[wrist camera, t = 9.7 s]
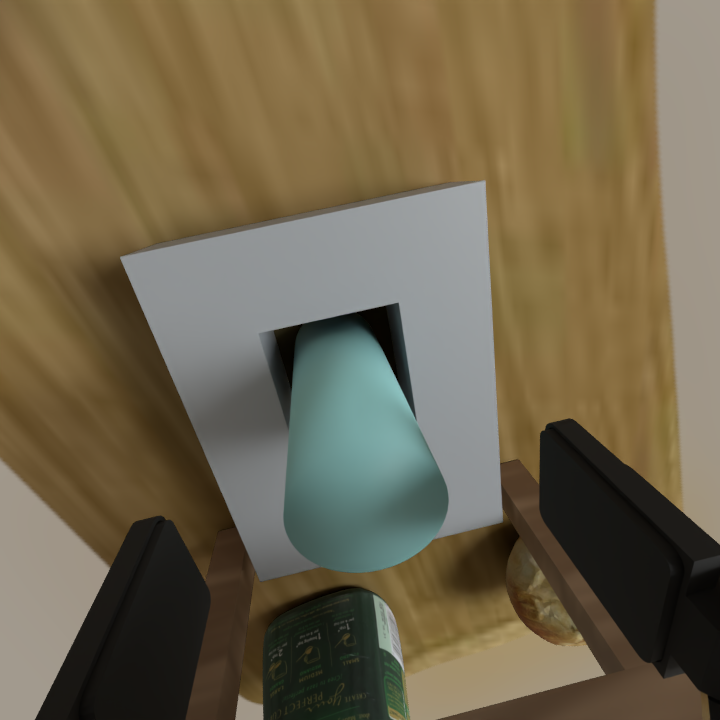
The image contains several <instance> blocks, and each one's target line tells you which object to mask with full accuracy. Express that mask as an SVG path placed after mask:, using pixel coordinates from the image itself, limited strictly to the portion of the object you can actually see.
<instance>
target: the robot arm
mask: <svg viewBox="0 0 720 720" xmlns="http://www.w3.org/2000/svg"><path fill="white" fill-rule="evenodd" d="M539 510H540V514H541V517H542V519H543V521H544V523H545V524H546V526H547V527H548V529H549V530H550V531H551V533H552V534H553V536H554V537H555V538H556V540H557V541H558V543H559V544H560V545H561V547H562V548H563V550H564V551H565V553H566V554H567V555H568V557H569V558H570V560H571V561H572V562H573V564H574V565H575V567H576V568H577V570H578V571H579V572H580V574H581V575H582V577H583V578H584V579H585V581H586V582H587V584H588V585H589V587H590V588H591V589H592V591H593V592H594V594H595V595H596V596H597V598H598V599H599V601H600V602H601V603H602V605H603V606H604V608H605V609H606V611H607V612H608V613H609V615H610V616H611V618H612V619H613V620H614V622H615V623H616V625H617V626H618V628H619V629H620V630H621V632H622V633H623V635H624V636H625V637H626V639H627V640H628V642H629V643H630V645H631V646H632V647H633V649H634V650H635V652H636V653H637V654H638V656H639V657H640V658H641V659H642V660H643V661H644V662H646V663H652V664H653V665H654V666H655V668H656V669H657V671H658V672H659V673H660V675H661V676H662V677H663V679H665V678H669V677H673V676H676V675H680V674H684V673H685V674H686V675H687V676H688V678H689V679H690V680H691V681H692V683H693V684H694V685H695V687H696V688H697V689H698V690H699V691H700V693H701V705H702V717H703V720H720V545H719V544H718V543H717V542H716V541H715V540H714V539H713V538H711V537H710V536H709V535H708V534H706V532H704V531H703V530H702V529H701V528H700V527H698V526H697V525H696V524H695V523H694V522H693V521H692V520H691V519H690V518H688V517H687V516H686V515H685V514H684V513H683V512H682V511H680V510H679V509H678V508H677V507H676V506H675V505H674V504H672V503H671V502H670V501H669V500H668V499H667V498H666V497H664V496H663V495H662V494H661V493H660V492H659V491H657V490H656V489H655V488H654V487H653V486H652V485H651V484H649V483H648V482H647V481H646V480H645V479H644V478H643V477H641V476H640V475H639V474H638V473H637V472H636V471H635V470H633V469H632V468H631V467H629V466H628V465H626V464H624V463H623V462H621V461H620V460H619V459H618V458H617V457H616V456H615V455H614V454H612V453H611V452H610V451H609V450H608V449H607V448H606V447H604V446H603V445H602V444H601V443H600V442H599V441H598V440H596V439H595V438H594V437H593V436H592V435H591V434H590V433H589V432H587V431H586V430H585V429H584V428H583V427H582V426H581V425H579V424H578V423H577V422H576V421H575V420H573V419H570V418H569V419H565V420H561V421H557V422H552V423H549V424H547V425H546V428H545V430H544V431H541V433H540V483H539ZM210 604H211V595H210V591H209V588H208V586H207V585H206V583H205V581H204V579H203V577H202V575H201V573H200V572H199V570H198V568H197V566H196V564H195V562H194V560H193V559H192V557H191V555H190V553H189V551H188V549H187V547H186V546H185V544H184V542H183V540H182V538H181V536H180V534H179V533H178V531H177V529H176V527H175V525H174V523H173V522H172V521H171V520H166V519H165V518H164V517H162V516H156V517H152V518H148V519H144V520H139V521H136V522H135V523H133V525H132V526H131V528H130V530H129V532H128V534H127V536H126V538H125V540H124V542H123V544H122V546H121V548H120V550H119V552H118V554H117V556H116V558H115V560H114V562H113V564H112V566H111V568H110V570H109V572H108V574H107V576H106V578H105V580H104V582H103V584H102V586H101V588H100V590H99V592H98V594H97V596H96V598H95V600H94V602H93V604H92V606H91V608H90V610H89V612H88V614H87V616H86V618H85V620H84V622H83V624H82V626H81V628H80V630H79V632H78V634H77V636H76V639H75V640H74V643H73V645H72V646H71V649H70V650H69V653H68V654H67V657H66V659H65V661H64V663H63V665H62V667H61V669H60V671H59V673H58V675H57V677H56V679H55V681H54V683H53V685H52V687H51V689H50V691H49V693H48V695H47V697H46V699H45V701H44V703H43V705H42V707H41V709H40V711H39V713H38V715H37V717H36V719H35V720H186V715H187V710H188V706H189V701H190V697H191V692H192V688H193V683H194V678H195V674H196V669H197V665H198V660H199V655H200V651H201V646H202V642H203V637H204V633H205V628H206V623H207V619H208V614H209V610H210Z"/></svg>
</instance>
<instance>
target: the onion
mask: <svg viewBox="0 0 720 720" xmlns="http://www.w3.org/2000/svg"><path fill="white" fill-rule="evenodd" d="M506 587H507V592H508V595H509V598H510V601H511V603H512V605H513V607H514V609H515V611H516V613H517V615H518V616H519V618H520V619H521V620H522V622H523V623H524V624H525V625H526V626H527V627H528V628H529V629H530V630H531V631H533V632H534V633H535V634H537V635H539V636H540V637H541V638H543V639H545V640H546V641H548V642H550V643H553V644H555V645H562V646H566V645H568V646H581V645H587V644H586V642H585V640H584V639H583V637H582V636H581V634H580V632H579V631H578V629H577V628H576V626H575V624H574V623H573V621H572V619H571V618H570V616H569V615H568V613H567V611H566V610H565V608H564V607H563V605H562V603H561V602H560V600H559V599H558V597H557V595H556V594H555V592H554V590H553V589H552V587H551V586H550V584H549V582H548V581H547V579H546V578H545V576H544V574H543V573H542V571H541V569H540V568H539V566H538V565H537V563H536V561H535V560H534V558H533V557H532V555H531V553H530V552H529V550H528V548H527V547H526V545H525V544H524V542H523V540H522V539H521V537H519V538H518V539H517V540H516V542H515V544H514V547H513V549H512V551H511V554H510V556H509V559H508V564H507V570H506Z"/></svg>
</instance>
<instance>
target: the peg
mask: <svg viewBox="0 0 720 720" xmlns="http://www.w3.org/2000/svg"><path fill="white" fill-rule="evenodd" d="M448 504H449V496H448V489H447V485H446V483H445V480H444V478H443V476H442V474H441V471H440V469H439V467H438V465H437V463H436V461H435V459H434V457H433V455H432V453H431V451H430V448H429V446H428V444H427V442H426V440H425V438H424V436H423V434H422V432H421V430H420V428H419V425H418V423H417V421H416V419H415V417H414V415H413V413H412V411H411V409H410V407H409V405H408V402H407V400H406V398H405V396H404V394H403V392H402V390H401V388H400V386H399V384H398V382H397V379H396V377H395V375H394V373H393V371H392V369H391V367H390V365H389V363H388V361H387V359H386V356H385V354H384V352H383V350H382V348H381V346H380V344H379V342H378V340H377V338H376V336H375V333H374V331H373V329H372V328H371V326H370V325H369V323H368V322H367V321H366V320H365V319H364V318H363V317H362V316H360V315H359V314H357V313H355V312H353V313H349V314H344V315H340V316H335V317H331V318H326V319H322V320H317V321H312V322H308V323H304V324H303V325H302V326H301V328H300V330H299V331H298V334H297V337H296V341H295V352H294V366H293V381H292V395H291V410H290V424H289V439H288V453H287V468H286V482H285V497H284V511H283V520H284V527H285V531H286V534H287V536H288V538H289V540H290V542H291V543H292V545H293V546H294V548H295V549H296V550H297V551H298V552H299V553H300V554H301V555H303V556H304V557H305V558H306V559H308V560H310V561H311V562H313V563H315V564H317V565H319V566H321V567H324V568H327V569H330V570H335V571H340V572H349V573H363V572H372V571H377V570H382V569H385V568H389V567H392V566H394V565H397V564H399V563H401V562H403V561H405V560H407V559H409V558H411V557H412V556H414V555H415V554H417V553H418V552H420V551H421V550H422V549H423V548H425V547H426V546H427V545H428V544H429V543H430V542H431V541H432V540H433V538H434V537H435V536H436V535H437V533H438V532H439V530H440V528H441V527H442V525H443V523H444V520H445V518H446V514H447V511H448Z"/></svg>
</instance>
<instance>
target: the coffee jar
mask: <svg viewBox="0 0 720 720" xmlns="http://www.w3.org/2000/svg"><path fill="white" fill-rule="evenodd" d="M263 714H264V715H263V716H264V720H410V716H409V708H408V699H407V691H406V681H405V673H404V665H403V657H402V650H401V645H400V639H399V634H398V629H397V625H396V621H395V618H394V616H393V613H392V611H391V610H390V608H389V606H388V605H387V604H386V602H385V601H384V600H383V599H382V598H381V597H380V596H379V595H377V594H375V593H373V592H371V591H367V590H364V589H362V588H352V589H347V590H343V591H339V592H336V593H332V594H329V595H326V596H323V597H320V598H318V599H315V600H313V601H310V602H308V603H305V604H303V605H300V606H298V607H296V608H294V609H292V610H289V611H287V612H285V613H284V614H282V615H280V616H279V617H277V618H276V619H275V620H274V621H273V622H272V623H271V624H270V626H269V627H268V629H267V631H266V633H265V637H264V646H263Z"/></svg>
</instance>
